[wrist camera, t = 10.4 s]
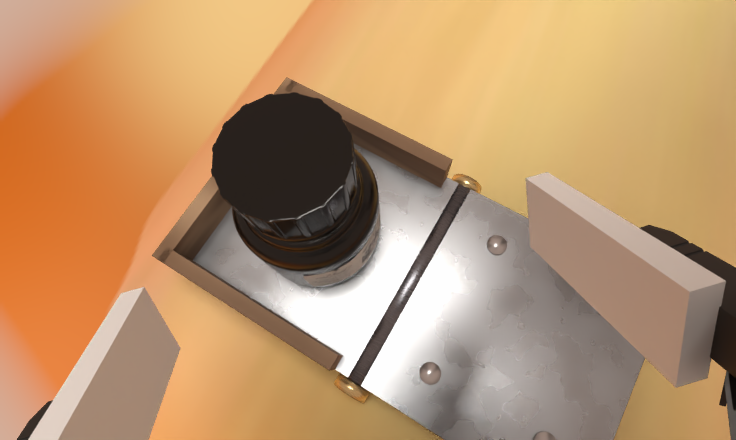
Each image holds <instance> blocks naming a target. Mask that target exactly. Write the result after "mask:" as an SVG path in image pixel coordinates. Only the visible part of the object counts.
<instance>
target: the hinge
mask: <svg viewBox="0 0 736 440" xmlns="http://www.w3.org/2000/svg"><path fill="white" fill-rule="evenodd" d="M353 144H354V143H353ZM354 148H355V149H356V150H357V151H358V152H359V153H361V155H362V156H363V157H364V158H365V159H366V160H367V162H368V163H369V165H370V166H371V168H372V170H373V172H374V175H375V177H376V181H377V185H378V191H379V205H380V234H379V239H378V242H377V245H376V248H375V250H374V252H373V254H372V256H371V257H370V259H369V260H368V262H367V263H366V264H365V266H364V267H363V268H362V269H361V270H360V271H359V272H358V273H356V274H355V275H354V276H352V277H351V278H349V279H348V280H346V281H344V282H342V283H339V284H336V285H332V286H326V287H310V286H304V285H300V284H297V283H294V282H292V281H290V280H288V279H286V278H284V277H283V276H281V275H280V274H279V273H277V272H276V271H275V270H273V269H272V268H271V267H270V266H268V265H267V264H266V263H265V262H263V261H262V260H261V259H260V258H258V257H257V256H256V255H255V254H254V253H253V252H251V251H250V250H249V248H248V247H247V246H246V245H245V244H244V242H243V241H242V239H241V238H240V236H239V234H238V232H237V230H236V227H235V224H234V221H233V215H232V207H231V208H230V210H229V211H228V212H227V214H226V215H225V216H224V218H223V219H222V221H221V222H220V223H219V225H218V226H217V227H216V229H215V230H214V232H213V233H212V234H211V236H210V237H209V238H208V240H207V241H206V243H205V244H204V245H203V247H202V248H201V250H200V251H199V252H198V254H197V255H196V256H195V258H194V259H193V261H194V262H196V263H198V264H199V265H201V266H202V267H204V268H205V269H207V270H209V271H210V272H212V273H213V274H215V275H216V276H218V277H220V278H221V279H223V280H224V281H226V282H228V283H229V284H231V285H232V286H234V287H235V288H237V289H239V290H240V291H242V292H243V293H245V294H246V295H248V296H250V297H251V298H253V299H254V300H256V301H258V302H259V303H261V304H262V305H264V306H265V307H267V308H269V309H270V310H272V311H273V312H275V313H276V314H278V315H280V316H281V317H283V318H284V319H286V320H287V321H289V322H291V323H292V324H294V325H295V326H297V327H299V328H300V329H302V330H303V331H305V332H306V333H308V334H310V335H311V336H313V337H314V338H316V339H317V340H319V341H321V342H322V343H324V344H325V345H327V346H328V347H330V348H332V349H333V350H335V351H336V352H338V353H340V354H341V355H343V357H342V358H341V360H340V362H339V363H338V365H337V367H336V369H335V370H337V371H339V372H340V374H339V375H338V377H337V379H336V381H335V382H334V384H335V386H337V387H338V388H339V389H340V390H342V391H343V392H345V393H346V394H348V395H349V396H351V397H352V398H354V399H356V400H358V401H360V402H362V403H364V402H365V400H366V398H367V396H368V395H369V393H370V392H371V393H373V394H374V395H376V396H377V397H379V398H380V399H382V400H384V401H385V402H387V403H388V404H390V405H391V406H393V407H394V408H396V409H398V410H399V411H401V412H402V413H404V414H405V415H407V416H408V417H410V418H411V419H413V420H415V421H416V422H418V423H419V424H421V425H422V426H424V427H425V428H427V429H429V430H430V431H432V432H433V433H435V434H436V435H438V436H439V437H441V438H443V439H444V440H613V439H614V437H615V434H616V432H617V429H618V426H619V424H620V421H621V419H622V416H623V413H624V411H625V408H626V406H627V403H628V400H629V398H630V395H631V393H632V390H633V388H634V385H635V382H636V380H637V377H638V375H639V372H640V369H641V367H642V364H643V362H644V359H645V357H644V356H643V355H642V354H641V353H640V352H639V351H638V350H636V349H635V348H634V347H633V346H632V345H631V344H630V343H629V342H628V341H627V340H626V339H625V338H624V337H623V336H622V335H621V334H620V333H619V332H618V331H617V330H616V329H615V328H614V327H613V326H612V325H611V324H610V323H609V322H608V321H607V320H606V319H605V318H603V317H602V316H601V315H600V314H599V313H598V312H597V311H596V310H595V309H594V308H593V307H592V306H591V305H590V304H589V303H588V302H587V301H586V300H585V299H584V298H583V297H582V296H581V295H580V294H579V293H578V292H577V291H576V290H575V289H574V288H573V287H572V286H570V285H569V284H568V283H567V282H566V281H565V280H564V279H563V278H562V277H561V276H560V275H559V274H558V273H557V272H556V271H555V270H554V269H553V268H552V267H551V266H550V265H549V264H548V263H547V262H546V261H545V260H544V259H543V258H542V257H541V256H540V255H539V254H537V253H536V252H535V251H534V250H533V249H532V248H531V247H530V234H529V219H528V218H526V217H524V216H522V215H520V214H518V213H516V212H514V211H512V210H510V209H508V208H506V207H504V206H502V205H500V204H498V203H497V202H495V201H493V200H491V199H489V198H487V197H485V196H483V195H481V194H479V193H480V192H481V186H480V184H479V183H478V182H477V181H475V180H474V179H472V178H471V177H469V176H466V175H463V174H456V175H454V176H453V178H452V180H451V179H449V178H446V180H445V181H444V183H443V185H442V187H441V188H440V187H438V186H436V185H434V184H432V183H430V182H428V181H426V180H424V179H422V178H420V177H418V176H416V175H415V174H413V173H411V172H409V171H407V170H405V169H403V168H401V167H399V166H397V165H395V164H393V163H391V162H389V161H387V160H385V159H383V158H381V157H379V156H378V155H376V154H374V153H372V152H370V151H368V150H366V149H364V148H362V147H360V146H358V145H356V144H354Z"/></svg>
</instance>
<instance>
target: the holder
mask: <svg viewBox="0 0 736 440" xmlns="http://www.w3.org/2000/svg"><path fill="white" fill-rule="evenodd" d="M291 92H297V93H299V94H302V95H306V96H310V97H313V98H319V99H321V100H323V102H324V103H325V104H327V105H328V106H330V107H331V108H332V109H334V110H335V111H337V112H339V113H340V114H341V116H342V119H343V121H344V123H345V124H346V126H347V128H348V130H349V132H351V134H352V138H353V143H354V144H356V145H358V146H360V147H362V148H364V149H366V150H368V151H370V152H372V153H374V154H376V155H378V156H379V157H381V158H383V159H385V160H387V161H389V162H391V163H393V164H395V165H397V166H399V167H401V168H403V169H405V170H407V171H409V172H411V173H413V174H415V175H416V176H418V177H420V178H422V179H424V180H426V181H428V182H430V183H432V184H434V185H436V186H438V187H440V188H441V187H442V185H443V183H444V181H445V180H446V178H447V175H448V172H449V169H450V166H451V163H452V159H450V158H448V157H446V156H444V155H442V154H440V153H438V152H436V151H434V150H432V149H430V148H428V147H426V146H424V145H422V144H420V143H418V142H416V141H414V140H412V139H410V138H408V137H406V136H404V135H402V134H400V133H398V132H396V131H394V130H392V129H390V128H388V127H386V126H384V125H382V124H380V123H378V122H376V121H374V120H372V119H370V118H368V117H366V116H364V115H362V114H360V113H358V112H356V111H354V110H352V109H350V108H347V107H345V106H343V105H341V104H339V103H337V102H335V101H333V100H331V99H329V98H327V97H325V96H323V95H321V94H319V93H317V92H315V91H313V90H311V89H309V88H307V87H305V86H303V85H301V84H299V83H297V82H295V81H293V80H291V79H289V78H287V77H286V79H285V80H284V81H283V83H282V84H281V85H280V87H279V88H278V89H277V91H276V92H275V93H274V94H285V93H291ZM230 208H231V206H230V205H229V204H228V203H227V202H226V201H225V200H224V199H223V198H222V197H221V195H220V191H219V188H218V186H217V184H216V181H215V179H214V177H213V176H212V177H211V178H210V179H209V181H208V182H207V183H206V185H205V186H204V187H203V189H202V190H201V191H200V193H199V194H198V195H197V196H196V198H195V199H194V200H193V202H192V203H191V204H190V206H189V207H188V208H187V210H186V211H185V212H184V214H183V215H182V216H181V218H180V219H179V220H178V222H177V223H176V224H175V226H174V227H173V228H172V230H171V231H170V232H169V234H168V235H167V236H166V238H165V239H164V240H163V241H162V243H161V244H160V245H159V247H158V248H157V249H156V251H155V252H154V253H153V255H152V256H153V257H155V258H156V259H158V260H159V261H161V262H162V263H164V264H166V265H167V266H169V267H170V268H172V269H173V270H175V271H176V272H178V273H179V274H181V275H183V276H184V277H186V278H187V279H189V280H190V281H192V282H193V283H195V284H196V285H198V286H200V287H201V288H203V289H204V290H206V291H207V292H209V293H210V294H212V295H213V296H215V297H217V298H218V299H220V300H221V301H223V302H224V303H226V304H227V305H229V306H230V307H232V308H234V309H235V310H237V311H238V312H240V313H241V314H243V315H244V316H246V317H247V318H249V319H251V320H252V321H254V322H255V323H257V324H258V325H260V326H261V327H263V328H264V329H266V330H268V331H269V332H271V333H272V334H274V335H275V336H277V337H278V338H280V339H281V340H283V341H285V342H286V343H288V344H289V345H291V346H292V347H294V348H295V349H297V350H298V351H300V352H302V353H303V354H305V355H306V356H308V357H309V358H311V359H312V360H314V361H315V362H317V363H319V364H320V365H322V366H323V367H325V368H326V369H328V370H334V369H336V367H337V365H338V363H339V362H340V360H341V358H342V357H343V355H341V354H340V353H338V352H336V351H335V350H333V349H332V348H330V347H328V346H327V345H325V344H324V343H322V342H321V341H319V340H317V339H316V338H314V337H313V336H311V335H310V334H308V333H306V332H305V331H303V330H302V329H300V328H299V327H297V326H295V325H294V324H292V323H291V322H289V321H287V320H286V319H284V318H283V317H281V316H280V315H278V314H276V313H275V312H273V311H272V310H270V309H269V308H267V307H265V306H264V305H262V304H261V303H259V302H258V301H256V300H254V299H253V298H251V297H250V296H248V295H246V294H245V293H243V292H242V291H240V290H239V289H237V288H235V287H234V286H232V285H231V284H229V283H228V282H226V281H224V280H223V279H221V278H220V277H218V276H216V275H215V274H213V273H212V272H210V271H209V270H207V269H205V268H204V267H202V266H201V265H199V264H198V263H196V262H194V261H193V259H194V258H195V256H196V255H197V254H198V252H199V251H200V250H201V248H202V247H203V245H204V244H205V243H206V241H207V240H208V238H209V237H210V236H211V234H212V233H213V232H214V230H215V229H216V227H217V226H218V225H219V223H220V222H221V221H222V219H223V218H224V216H225V215H226V214H227V212H228V211H229V210H230Z"/></svg>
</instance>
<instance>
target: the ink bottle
mask: <svg viewBox="0 0 736 440" xmlns="http://www.w3.org/2000/svg"><path fill="white" fill-rule="evenodd" d="M212 151H213V159H212V169H211V173H212V176H213V177H214V179H215V181H216V184H217V186H218V188H219V191H220V195H221V197H222V198H223V199H224V200H225V201H226V202H227V203H228V204H229V205H230V206H231V207H232V215H233V221H234V224H235V227H236V230H237V232H238V234H239V236H240V238H241V239H242V241H243V242H244V244H245V245H246V246H247V247H248V248H249V250H250V251H251V252H253V253H254V254H255V255H256V256H257V257H258V258H260V259H261V260H262V261H263V262H265V263H266V264H267V265H268V266H270V267H271V268H272V269H273V270H275V271H276V272H277V273H279V274H280V275H281V276H283V277H284V278H286V279H288V280H290V281H292V282H294V283H297V284H300V285H304V286H310V287H326V286H332V285H336V284H339V283H342V282H344V281H346V280H348V279H349V278H351V277H352V276H354V275H355V274H356V273H358V272H359V271H360V270H361V269H362V268H363V267H364V266H365V264H366V263H367V262H368V260H369V259H370V257H371V256H372V254H373V252H374V250H375V248H376V245H377V242H378V239H379V234H380V205H379V191H378V185H377V181H376V177H375V175H374V172H373V170H372V168H371V166H370V165H369V163H368V162H367V160H366V159H365V158H364V157H363V156H362V155H361V153H359V152H358V151H357V150H356V149H355V148H354V144H353V138H352V134H351V132H349V130H348V128H347V126H346V124H345V123H344V121H343V119H342V116H341V114H340V113H339V112H337V111H335V110H334V109H332V108H331V107H330V106H328V105H327V104H325V103H324V102H323V100H321V99H319V98H313V97H310V96H306V95H302V94H299V93H297V92H291V93H285V94H274V95H273V94H269V95H266V96H264V97H263V98H261V99H258V100H256V101H254V102H252V103H249V104H246V105H244V106H242V107H241V109H240V110H239V111H238V112H237V113H236V114H235V115H234V116H233V117H232V118H230V119H229V120H228V121H226V122H225V123H224V125H223V127H222V130H221V132H220V134H219V136H218V138H217V141H216V143H215V144H214V145H213V148H212Z"/></svg>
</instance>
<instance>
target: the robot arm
mask: <svg viewBox="0 0 736 440" xmlns="http://www.w3.org/2000/svg"><path fill="white" fill-rule="evenodd" d="M526 190H527V204H528V219H529V234H530V247H531V248H532V249H533V250H534V251H535V252H536V253H537V254H539V255H540V256H541V257H542V258H543V259H544V260H545V261H546V262H547V263H548V264H549V265H550V266H551V267H552V268H553V269H554V270H555V271H556V272H557V273H558V274H559V275H560V276H561V277H562V278H563V279H564V280H565V281H566V282H567V283H568V284H569V285H570V286H572V287H573V288H574V289H575V290H576V291H577V292H578V293H579V294H580V295H581V296H582V297H583V298H584V299H585V300H586V301H587V302H588V303H589V304H590V305H591V306H592V307H593V308H594V309H595V310H596V311H597V312H598V313H599V314H600V315H601V316H602V317H603V318H605V319H606V320H607V321H608V322H609V323H610V324H611V325H612V326H613V327H614V328H615V329H616V330H617V331H618V332H619V333H620V334H621V335H622V336H623V337H624V338H625V339H626V340H627V341H628V342H629V343H630V344H631V345H632V346H633V347H634V348H635V349H636V350H638V351H639V352H640V353H641V354H642V355H643V356H644V357H645V358H646V359H647V360H648V361H649V362H650V363H651V364H652V365H653V366H654V367H655V368H656V369H657V370H658V371H659V372H660V373H661V374H662V375H663V376H664V377H665V378H666V379H667V380H668V381H669V382H670V383H672V384H673V385H674V386H675V387H680V386H683V385H686V384H689V383H693V382H696V381H699V380H703V379H706V378H708V372H709V367H710V362H711V358H712V359H713V360H714V361H715V362H717V363H718V364H719V365H720V366H721V367H723V368H724V369H725V370H726V371H727V372H726V376H725V381H724V386H723V390H722V395H721V399H720V404H719V405H721V406H725V407H726V404H727V409H728V418H729V427H730V435H731V440H736V268H735V267H733V266H732V265H730V264H728V263H726V262H724V261H723V260H721V259H719V258H717V257H716V256H714V255H712V254H710V253H709V252H707V251H705V252H704V251H703V249H702V248H700V247H698V246H696V245H694V244H693V243H689V242H688V241H687V240H686V239H684V238H682V237H680V236H679V235H677V234H675V233H673V232H671V231H668V230H665V229H661V228H658V227H654V226H651V225H648V226H644V227H641V228H638V227H637V226H635V225H633V224H632V223H630V222H628V221H627V220H625V219H623V218H622V217H620V216H618V215H617V214H615V213H614V212H612V211H610V210H609V209H607V208H605V207H604V206H602V205H600V204H599V203H597V202H595V201H594V200H592V199H591V198H589V197H587V196H586V195H584V194H582V193H581V192H579V191H577V190H576V189H574V188H572V187H571V186H569V185H568V184H566V183H564V182H563V181H561V180H559V179H558V178H556V177H554V176H553V175H551V174H549V173H548V172H546V173H542V174H539V175H535V176H532V177H528V178H526ZM179 351H180V347H179V345H178V343H177V342H176V340H175V338H174V336H173V335H172V333H171V331H170V330H169V328H168V326H167V325H166V323H165V321H164V320H163V318H162V316H161V314H160V313H159V311H158V309H157V308H156V306H155V304H154V303H153V301H152V299H151V298H150V296H149V294H148V292H147V291H146V289H145V287H142V288H138V289H135V290H131V291H128V292H124V293H121V294H120V296H119V298H118V299H117V301H116V302H115V304H114V305H113V307H112V309H111V310H110V312H109V313H108V315H107V316H106V318H105V320H104V321H103V323H102V324H101V326H100V327H99V329H98V331H97V332H96V334H95V335H94V337H93V339H92V340H91V342H90V343H89V345H88V346H87V348H86V350H85V351H84V353H83V354H82V356H81V357H80V359H79V361H78V362H77V364H76V365H75V367H74V368H73V370H72V371H71V373H70V375H69V376H68V378H67V379H66V381H65V383H64V384H63V386H62V387H61V389H60V390H59V392H58V394H57V395H56V397H55V398H54V400H52V401H49V402H47V403H46V404H45V405H44V406H43V407H42V408H41V409H40V410H39V411H38V412H37V413H36V414H35V415H34V416H33V417H32V419H30V421H29V422H28V423H27V425H26V426H25V428H24V430H23V431H22V432H21V434H20V436H19V437H18V438H17V440H149V437H150V434H151V431H152V428H153V425H154V422H155V420H156V417H157V414H158V411H159V408H160V405H161V402H162V400H163V397H164V394H165V391H166V388H167V385H168V382H169V379H170V377H171V374H172V371H173V368H174V365H175V362H176V359H177V357H178V354H179Z"/></svg>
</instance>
